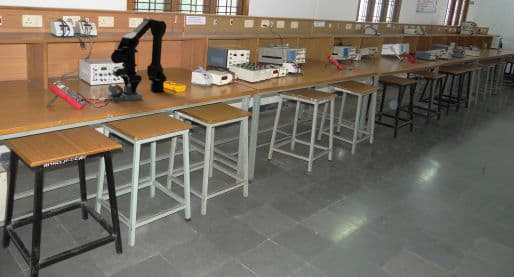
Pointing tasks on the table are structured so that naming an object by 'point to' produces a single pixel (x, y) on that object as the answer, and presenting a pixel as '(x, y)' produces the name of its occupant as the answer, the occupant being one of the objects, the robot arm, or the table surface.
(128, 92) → the pump block
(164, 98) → the table surface
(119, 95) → the motor mount
